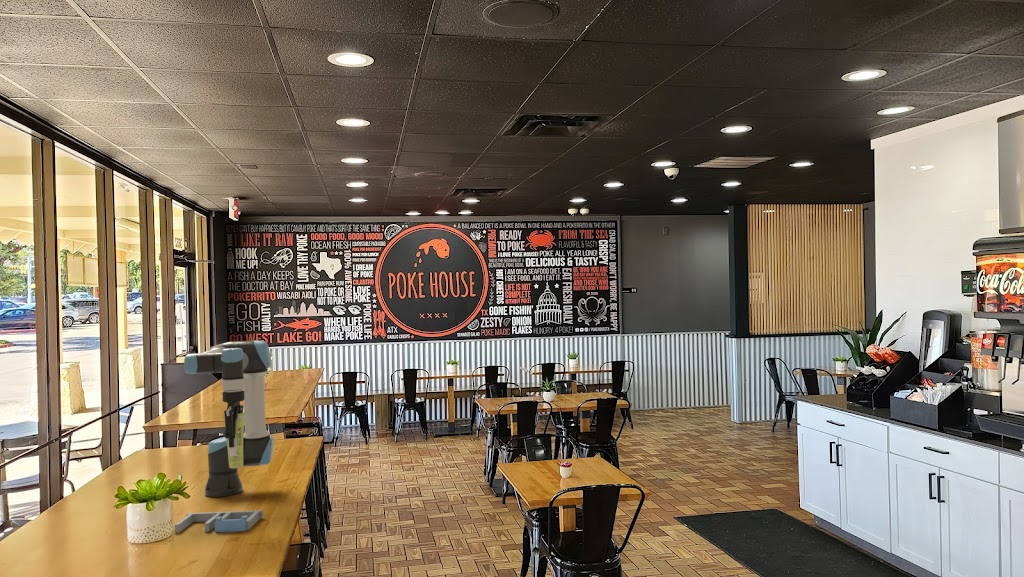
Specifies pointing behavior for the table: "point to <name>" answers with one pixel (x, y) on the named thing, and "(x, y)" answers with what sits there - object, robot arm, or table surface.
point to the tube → (237, 460)
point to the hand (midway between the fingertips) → (235, 454)
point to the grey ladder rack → (222, 520)
